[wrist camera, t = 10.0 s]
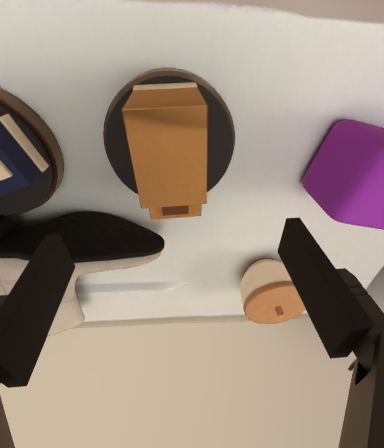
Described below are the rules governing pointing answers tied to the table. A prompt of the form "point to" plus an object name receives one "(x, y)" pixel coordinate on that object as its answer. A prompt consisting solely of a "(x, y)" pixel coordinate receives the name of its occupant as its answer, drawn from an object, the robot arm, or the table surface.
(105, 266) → the cowboy boot
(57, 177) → the turntable base
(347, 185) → the toy camera
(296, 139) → the table surface
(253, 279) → the trinket box
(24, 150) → the navy and black piece
